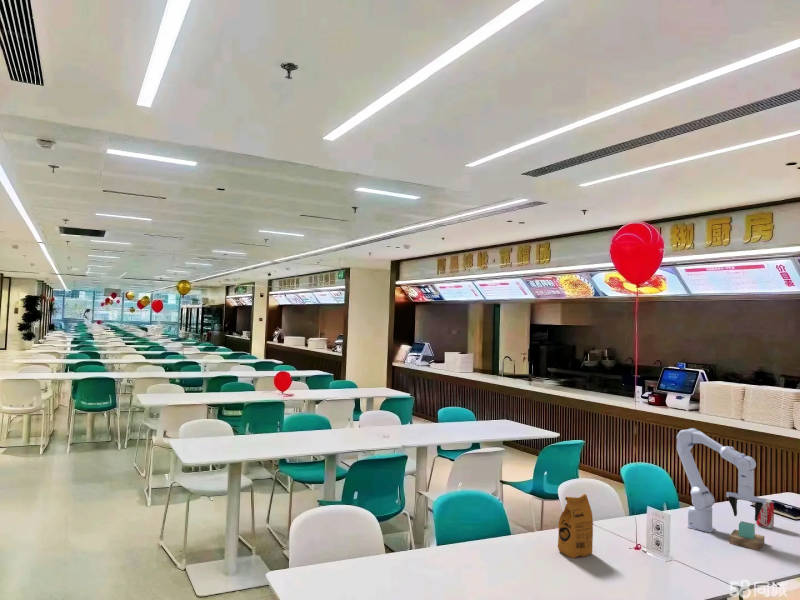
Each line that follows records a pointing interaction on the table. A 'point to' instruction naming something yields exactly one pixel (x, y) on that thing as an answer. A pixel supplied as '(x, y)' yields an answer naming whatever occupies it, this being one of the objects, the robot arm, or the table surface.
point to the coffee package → (576, 528)
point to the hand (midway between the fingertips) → (745, 517)
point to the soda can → (766, 515)
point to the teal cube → (746, 530)
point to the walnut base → (746, 540)
